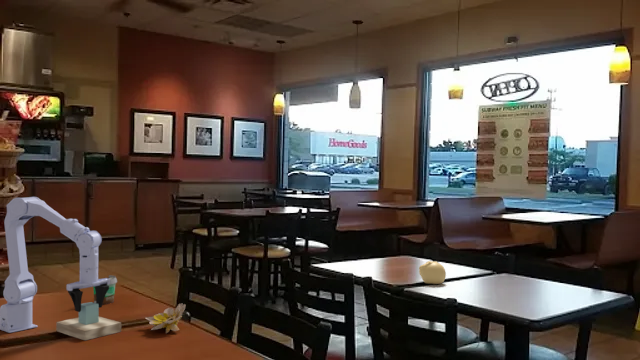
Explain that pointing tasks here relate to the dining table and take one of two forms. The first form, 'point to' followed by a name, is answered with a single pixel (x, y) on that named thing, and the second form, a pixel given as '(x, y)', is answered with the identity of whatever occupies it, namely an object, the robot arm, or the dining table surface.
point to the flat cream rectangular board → (88, 328)
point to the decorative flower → (167, 318)
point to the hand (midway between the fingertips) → (88, 309)
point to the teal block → (89, 313)
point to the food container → (110, 293)
